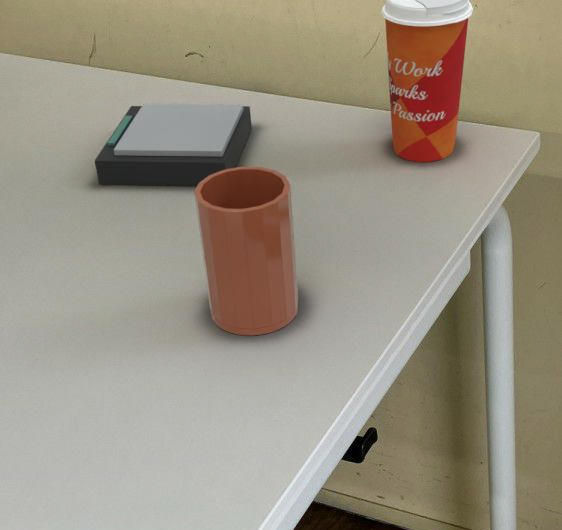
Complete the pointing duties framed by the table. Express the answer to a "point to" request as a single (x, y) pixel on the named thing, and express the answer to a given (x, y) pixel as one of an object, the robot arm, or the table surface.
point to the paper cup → (425, 74)
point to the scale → (173, 144)
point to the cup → (248, 249)
